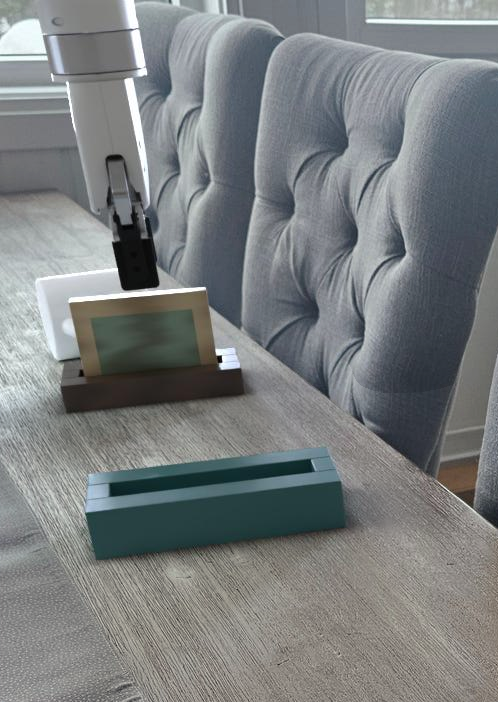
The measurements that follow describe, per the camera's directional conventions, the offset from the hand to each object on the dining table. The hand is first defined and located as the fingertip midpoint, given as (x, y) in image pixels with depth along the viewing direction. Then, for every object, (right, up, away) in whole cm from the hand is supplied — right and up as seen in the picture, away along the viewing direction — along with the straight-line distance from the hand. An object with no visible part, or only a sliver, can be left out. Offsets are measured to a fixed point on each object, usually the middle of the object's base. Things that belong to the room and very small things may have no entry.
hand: (140, 275), depth 100 cm
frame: (0, -9, +5) cm, 11 cm away
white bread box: (-8, -3, +16) cm, 18 cm away
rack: (0, -9, +5) cm, 11 cm away
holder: (+12, -25, -20) cm, 34 cm away
